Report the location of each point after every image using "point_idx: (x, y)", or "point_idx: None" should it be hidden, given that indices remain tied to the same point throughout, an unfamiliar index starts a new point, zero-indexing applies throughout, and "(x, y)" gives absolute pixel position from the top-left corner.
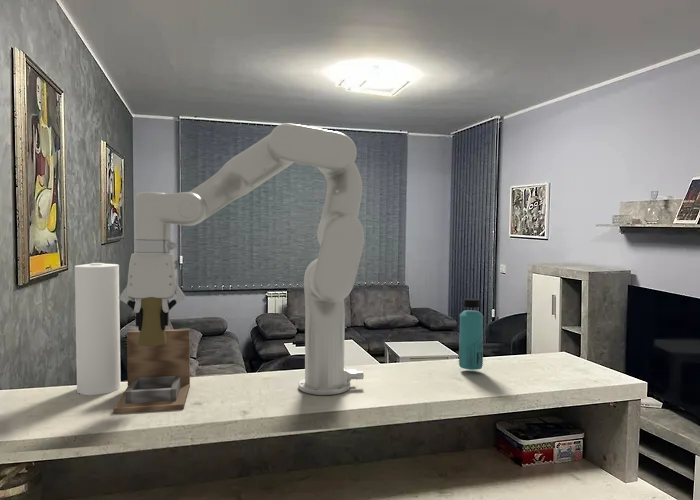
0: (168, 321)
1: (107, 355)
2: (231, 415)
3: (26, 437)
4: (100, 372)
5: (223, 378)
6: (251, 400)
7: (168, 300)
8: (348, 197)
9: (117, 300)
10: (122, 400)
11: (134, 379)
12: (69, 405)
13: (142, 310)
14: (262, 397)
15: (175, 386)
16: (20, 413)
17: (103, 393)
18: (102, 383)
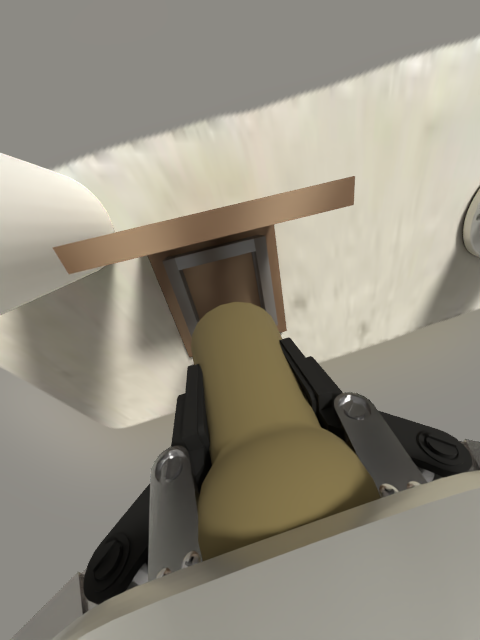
0: (316, 363)
1: (57, 280)
2: (347, 340)
3: (131, 423)
4: (73, 281)
5: (336, 127)
6: (377, 283)
7: (409, 472)
8: None
9: None
10: (183, 325)
11: (169, 273)
12: (89, 331)
13: (207, 460)
14: (395, 268)
15: (273, 311)
16: (38, 369)
17: (103, 266)
18: (92, 272)
